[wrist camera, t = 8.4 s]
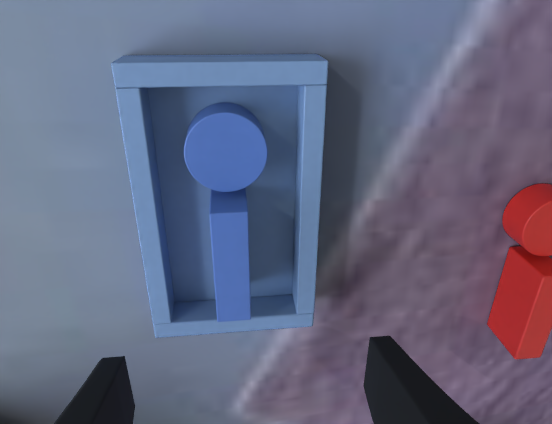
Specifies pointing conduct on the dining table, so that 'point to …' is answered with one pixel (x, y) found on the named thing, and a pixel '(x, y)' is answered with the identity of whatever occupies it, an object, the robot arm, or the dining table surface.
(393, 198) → the dining table surface
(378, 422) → the robot arm
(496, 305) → the red spoon
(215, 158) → the blue spoon
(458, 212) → the dining table surface
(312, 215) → the blue tray
